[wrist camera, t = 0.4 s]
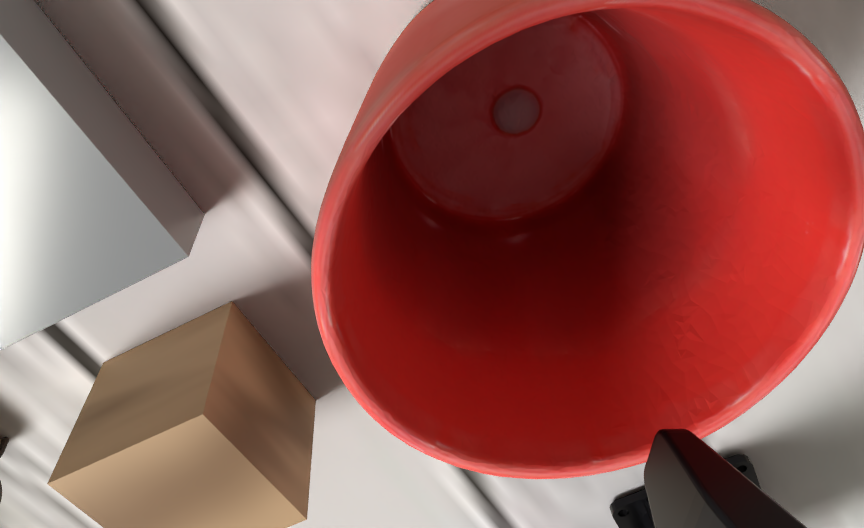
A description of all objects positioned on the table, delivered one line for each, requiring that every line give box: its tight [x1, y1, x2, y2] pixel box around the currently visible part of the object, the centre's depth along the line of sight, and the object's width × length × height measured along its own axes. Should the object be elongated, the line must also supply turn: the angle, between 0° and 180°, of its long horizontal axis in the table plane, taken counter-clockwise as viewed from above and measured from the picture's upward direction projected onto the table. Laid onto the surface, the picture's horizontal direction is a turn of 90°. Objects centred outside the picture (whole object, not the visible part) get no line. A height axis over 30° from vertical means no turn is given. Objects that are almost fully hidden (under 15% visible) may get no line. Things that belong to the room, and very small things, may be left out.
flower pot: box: [311, 0, 864, 479], centre depth 17 cm, size 11×11×10 cm
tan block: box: [48, 301, 316, 528], centre depth 24 cm, size 6×6×6 cm
